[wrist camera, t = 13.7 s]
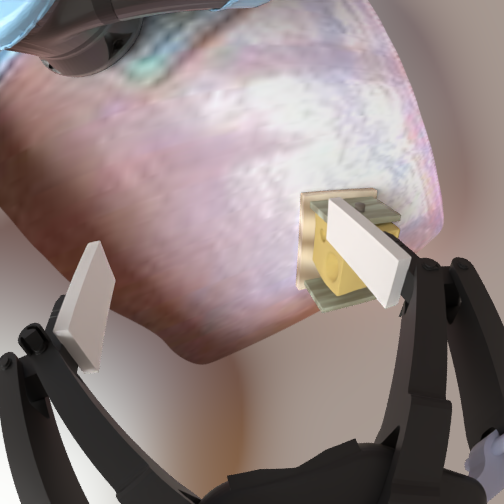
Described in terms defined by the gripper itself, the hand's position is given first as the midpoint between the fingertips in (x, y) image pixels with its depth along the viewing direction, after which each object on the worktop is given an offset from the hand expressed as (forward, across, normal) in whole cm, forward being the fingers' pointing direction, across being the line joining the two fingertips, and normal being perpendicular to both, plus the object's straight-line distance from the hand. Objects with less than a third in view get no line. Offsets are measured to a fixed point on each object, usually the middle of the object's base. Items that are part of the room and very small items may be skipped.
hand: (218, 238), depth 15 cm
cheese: (+24, +22, -17) cm, 36 cm away
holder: (+25, +22, -18) cm, 38 cm away
